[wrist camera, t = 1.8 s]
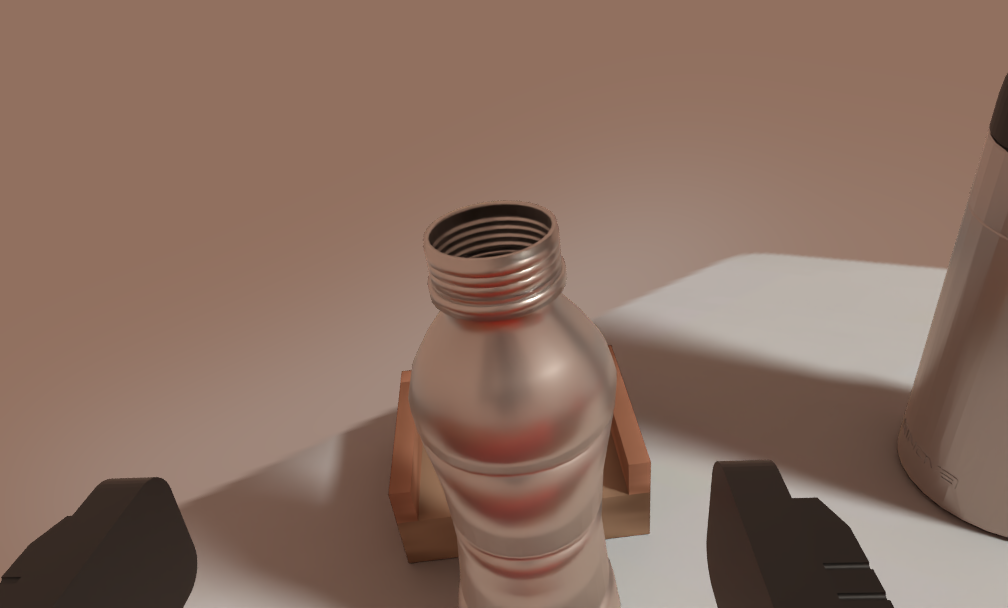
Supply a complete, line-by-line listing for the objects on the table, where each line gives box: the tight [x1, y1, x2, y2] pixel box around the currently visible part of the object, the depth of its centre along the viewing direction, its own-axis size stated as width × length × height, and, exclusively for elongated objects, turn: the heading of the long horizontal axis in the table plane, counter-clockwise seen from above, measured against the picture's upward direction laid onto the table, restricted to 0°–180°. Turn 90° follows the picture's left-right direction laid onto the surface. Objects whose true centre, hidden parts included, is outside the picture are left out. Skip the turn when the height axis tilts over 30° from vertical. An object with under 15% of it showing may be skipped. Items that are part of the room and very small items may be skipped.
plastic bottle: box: [408, 201, 621, 608], centre depth 23 cm, size 6×7×20 cm
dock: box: [388, 345, 651, 563], centre depth 35 cm, size 12×9×5 cm
